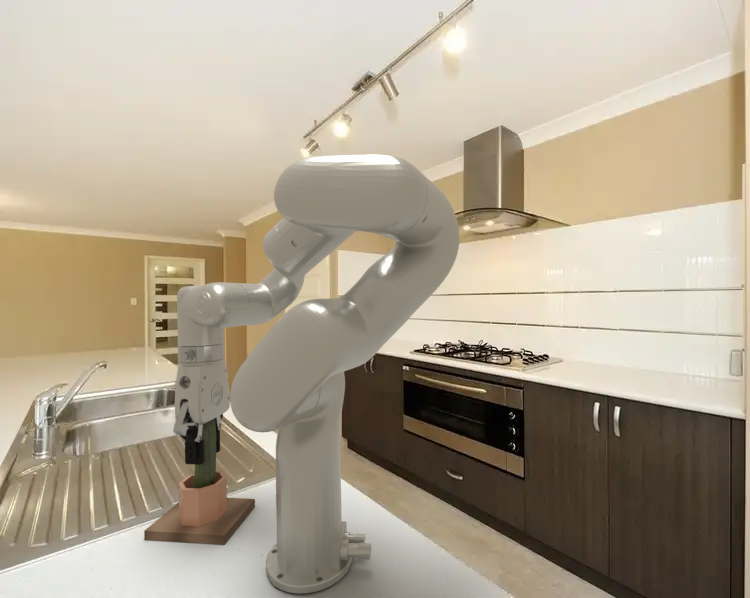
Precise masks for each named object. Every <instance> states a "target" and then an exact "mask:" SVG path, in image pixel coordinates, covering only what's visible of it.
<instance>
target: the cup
mask: <svg viewBox="0 0 750 598" xmlns="http://www.w3.org/2000/svg"><path fill="white" fill-rule="evenodd" d="M227 477H228V476H227V475H226V474H225V473H224V472H223V470H216V475H215V481H214V484H213V485H210V486H206V487H203V488H200V489H198V488H193V486H194V473H192V474H189V475H187V476H186V477H185V478H183V479H182V480H181V481H180V482H178V502H179V518H180V520H181V523H182V525H183V526H202V525H205V524H207V523H210V522H213V521H216V520H218V519H219V518H220V517H221V516H222V515H223V514H224V513H225V511H226V510H227V498H228V491H227V490H228V489H227V486H228V485H227V484H228V483H227V482H228V481H227V480H228V479H227Z"/></svg>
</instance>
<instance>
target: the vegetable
mask: <svg viewBox="0 0 750 598" xmlns="http://www.w3.org/2000/svg"><path fill="white" fill-rule="evenodd" d="M190 422H193V420H192V419H191V421H190ZM191 429H193V430H194V431H195V430H196V426H191ZM201 440H204V463H203V464H201V465H195V464H194V473H193V474H194V486H193V488H198V489H200V488H203V487H206V486H210V485H213V484H214V481H215V475H216V471H217V453H216V425H215V420H214V419H213V420H211V421H209V422H207V423H205V424H203V428H202V438H201Z"/></svg>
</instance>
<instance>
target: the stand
mask: <svg viewBox="0 0 750 598" xmlns="http://www.w3.org/2000/svg"><path fill="white" fill-rule="evenodd" d="M255 507H256V498H247V497H246V498H245V497H244V498H243V497H242V498H240V497H227V510H226V511H225V513H224V514H223V515H222V516H221V517H220V518H219V519H218V520H216V521H213V522H210V523H207V524H205V525H202V526H183V525H182V523H181V520H180V518H179V501H178V502H177V503H176V504H174V505H173V506H172V507H171V508H169V510H168V511H166V512H165V513H164V514H162V516H159V518H158V519H157V520H155V521H154V522H153V523H152V524H150V525H149V526H148V527H147V528H146V529H145V530H144V531H143V532H144V533H143V536H144V537H143V538H144V541H153V542H154V541H157V542H173V543H187V544H188V543H189V544H204V545H206V544H207V545H217V546H218V545H223V546H224V545H225V544H226V543H227V542H228V541H229V540H230V538H231V537H232V536H233V535H234V534H235V532H236V531H237V530H238V529H239V527H240V526H241V525H242V524H243V522H244V521H245V520H246V518H247V517H248V516H249V514H251V512H252V511H253V510H254V508H255Z"/></svg>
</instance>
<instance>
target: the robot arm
mask: <svg viewBox="0 0 750 598" xmlns="http://www.w3.org/2000/svg"><path fill="white" fill-rule="evenodd" d="M273 201H274V205H275V208H276V210H277V211H278V213H279V215H280V216H281V217H282V219H280V220H279V221H278V222H277V223H276V224H275V225H274V226H273V227H272V228H270V229H269V231H267V233H266V234H265V235H264V238H263V239H262V248H263V249H262V250H263V252H264V255H265V256H266V258H267V260H268V262H270V264H271V265H272V266H273V268H274V269H273V270H272V271H271V272H270V273H269V274H268V275H266V276H265V277H263V279H262V280H260V281H259V282H258V283H243V282H226V281H225V282H223V281H222V282H221V281H220V282H219V281H215V282H209V283H206V284H203V285H188V286H183V287H181V288H180V289H179V290H178V291H177V294H176V305H177V306H176V307H177V308H176V309H177V310H176V311H177V312H176V314H177V315H176V316H177V319H176V320H177V321H176V322H177V323H176V324H177V326H176V327H177V365H178V367H177V371H176V378H175V388H174V415H175V416H174V418H175V423H174V426H173V428H172V431H173V433H175V434H177V435H178V436H180V437H181V438H182V439H181V440H182V443H184V459H185V460H184V463H185V464H186V465H194V466H195V465H201V464H203V463H204V440H201V438H202V428H203V424H205V423H207V422H209V421H211V420H213V419H214V420H215V425H216V454H217V453H219V452H220V451H221V428H222V419H223V417H224V414H225V413H226V412H227V411H228V410H229V408H230V409H231V411H232V414H233V415H234V417H235V419H236V420H237V422H238V423H239V424H240V425H241V426H242V427H244V428H246V429H248V430H250V431H252V432H255V433H271V432H274V431H277V430H278V431H277V435H276V441H275V442H276V443H275V501H276V502H275V503H276V507H275V509H276V511H275V512H276V515H275V516H276V543H275V544H274V546H272V548H271V549H270V551H269V553H268V554H267V558H266V561H265V570H266V576H267V578H268V581H269V582H270V583H271V584H272V586H275V587H276V588H278V589H280V590H281V591H283V592H286V593H292V594H310V593H317V592H319V591H323V590H325V589H327V588H330V587H332V586H333V585H334V584H337V583H338V582H339V581H340V580H341V579H343V577H345V575H346V574H347V573H348V572H349V570H350V568H351V566H352V564H353V559H358V560H369V561H370V560H371V555H372V543H369V542H366V534H363V533H356V534H355V533H351V531H347V528H348V525H347V521H345V520H342V518H343V517H342V478H341V477H342V474H341V472H342V471H341V467H342V466H341V463H342V462H341V427H342V426H341V424H342V413H343V412H342V411H343V405H344V398H345V391H346V376H345V372H346V371H349V370H352V369H355V368H358V367H361V366H362V365H364V364H366V363H367V362H369V361H370V360H371V359H372V358H373V357H374V356H375V355H376V354H377V353H378V352H379V351H380V349H381V348H382V347H383V346H384V345H385V344H386V343H387V342H388V341H389V340H390V339H391V338H392V337H393V336H395V334H396V333H397V332H398V331H399V330H400V329H401V328H402V327H403V326H404V325H405V323H407V321H408V320H409V319H410V318H411V317H412V315H414V314H415V312H417V310H418V309H419V308H420V307H421V306H422V305H423V304H424V303H425V302H426V301H427V300H428V299H429V298H430V297H431V296H432V295H433V294H434V293H435V292H436V291H437V290H438V288H440V286H441V285H442V284H443V282H444V281H445V280H446V278H447V277H448V276H449V274H450V272H451V270H452V268H453V266H454V264H455V262H456V260H457V256H458V253H459V248H460V228H459V227H460V226H459V223H458V218H457V215H456V213H455V210H454V208H453V206H452V204H451V202H450V200H449V199H448V197H447V196H446V195H445V194H444V192H443V191H441V189H440V188H439V187H438V186H437V185H436V184H434V182H433V181H431V180H430V179H429V178H428V177H427V176H425V174H423V173H422V172H421V171H420V170H419V169H418V168H417V166H415V165H413V164H412V163H411V162H409V161H407V160H405V159H404V158H402V157H398V156H396V155H391V154H385V153H384V154H382V153H381V154H380V153H376V154H374V153H373V154H367V153H366V154H346V155H345V154H343V155H342V154H340V155H317V156H309V157H303V158H301V159H299V160H296V161H295V162H292V163H291V164H290V165H288V166H287V167H286V168H285V169H284V170H283V171H282V172H281V174H280V175H279V177H278V179H277V180H276V184H275V185H274V190H273ZM356 232H362V233H363V232H365V233H371V234H374V235H376V234H377V235H379V236H382V237H384V238H387V239H390V240H393V241H395V245H394V246H393V247H392V248H391V249H390V251H388V252H387V253H385V255H383V256H382V257H380V258H378V260H376V261H375V262H374V263H372V265H370V267H368V268H367V269H366V271H364V273H363V275H361V277H360V278H359V279H358V281H357V282H356V283H354V284H353V286H351V287H350V288H349V290H348V291H347V292H346V293H344V294H342V295H341V296H339V297H336V298H314V299H309V300H305V301H302V302H300V303H298V304H295V305H294V306H293V307H291V308H290V309H289V310H287V311H286V312H285V313H283V314H282V315H281V317H280V318H279V319H278V320H277V321H276V323H274V324H273V326H272V327H271V328H270V329H269V330H268V332H267V333H266V334H265V336H264V337H263V338H262V339H261V340H260V342H259V343H258V344H257V345H256V346H255V348H254V349H253V350H252V352H250V354H249V355H248V356H247V357H246V359H244V361H243V362H242V364H241V365H240V367H239V368H238V370H237V371H236V373H235V375H234V378H233V380H232V383H231V387H230V384H229V383H230V382H229V374H228V368H227V363H226V359H225V329H224V328H233V327H243V326H257V325H263V324H265V323H268V322H270V321H271V320H273V319H274V318H276V317H278V316H279V315H280V314H281V313H282V312H283V311H285V310H286V309H287V308H288V307H290V306H291V305H292V304H293V303H294V302H295V301H296V300H297V298H298V297H299V295H300V292H301V290H302V288H303V286H304V283H305V276H306V275H307V274H308V273H309V272H310V271H311V270H313V269H314V268H315V267H316V266H317V265H319V264H320V263H321V262H322V261H323V260H325V258H327V257H328V256H329V255H330V254H332V253H333V252H334V251H335V250H336V249H337V248H338V247H340V246H341V245H343V243H344V242H346V241H347V240H348V239H349V238H350V237H352V235H354V234H355V233H356ZM191 419H192V420H193V422H190V421H191ZM191 426H196V430H195V431H194V430H193V429H191Z"/></svg>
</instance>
